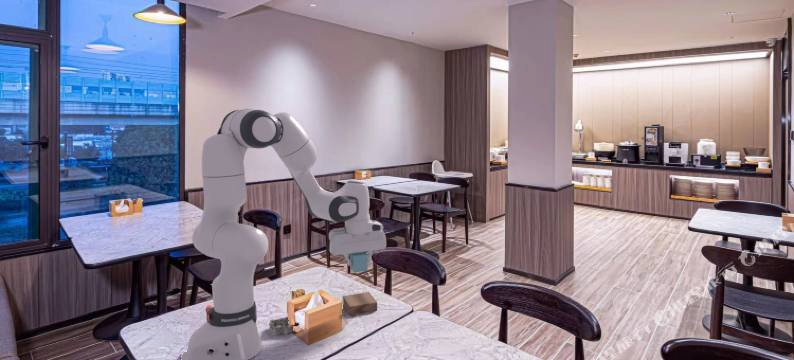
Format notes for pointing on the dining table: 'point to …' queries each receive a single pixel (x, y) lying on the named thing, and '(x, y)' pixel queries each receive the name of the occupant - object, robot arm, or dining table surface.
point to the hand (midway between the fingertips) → (358, 263)
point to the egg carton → (280, 326)
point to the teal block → (359, 262)
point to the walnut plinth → (359, 303)
